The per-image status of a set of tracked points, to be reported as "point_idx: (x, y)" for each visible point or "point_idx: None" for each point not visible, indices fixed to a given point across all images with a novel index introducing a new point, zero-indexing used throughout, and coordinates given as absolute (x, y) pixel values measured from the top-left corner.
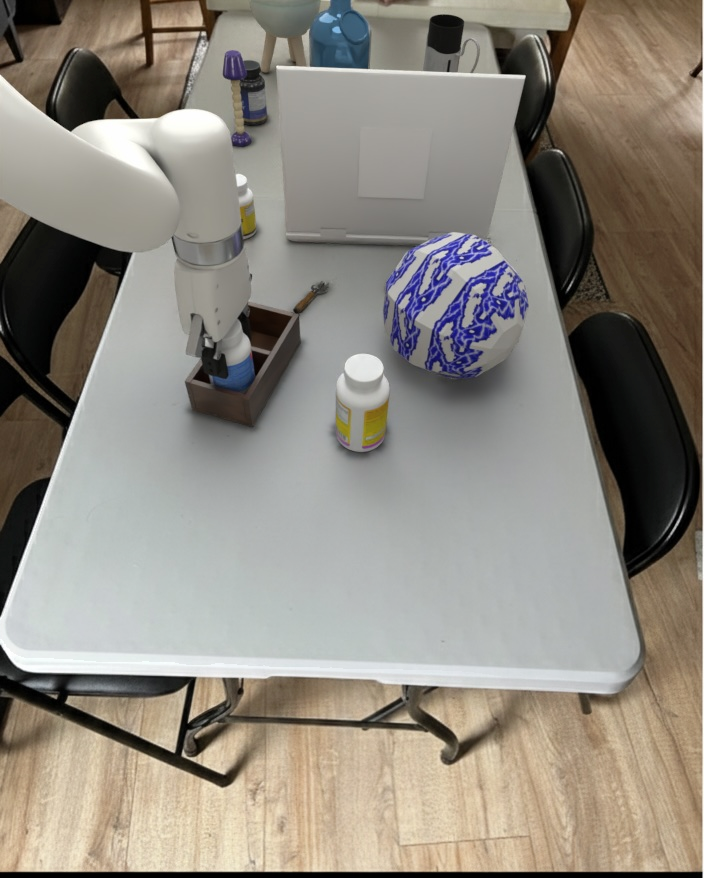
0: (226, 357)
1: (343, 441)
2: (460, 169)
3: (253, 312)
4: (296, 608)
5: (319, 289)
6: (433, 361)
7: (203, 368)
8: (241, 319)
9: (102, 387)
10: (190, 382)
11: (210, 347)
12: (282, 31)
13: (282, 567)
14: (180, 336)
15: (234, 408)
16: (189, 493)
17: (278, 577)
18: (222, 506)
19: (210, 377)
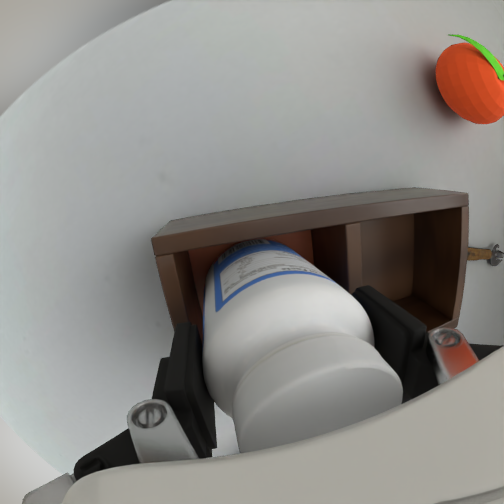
0: (231, 416)
1: None
2: None
3: (449, 225)
4: (64, 458)
5: (494, 257)
6: None
7: (175, 330)
8: (403, 390)
9: (139, 30)
10: (158, 256)
11: (194, 440)
12: None
13: (75, 445)
14: (340, 74)
15: None
16: (45, 329)
17: (66, 444)
18: (65, 377)
19: (209, 291)
